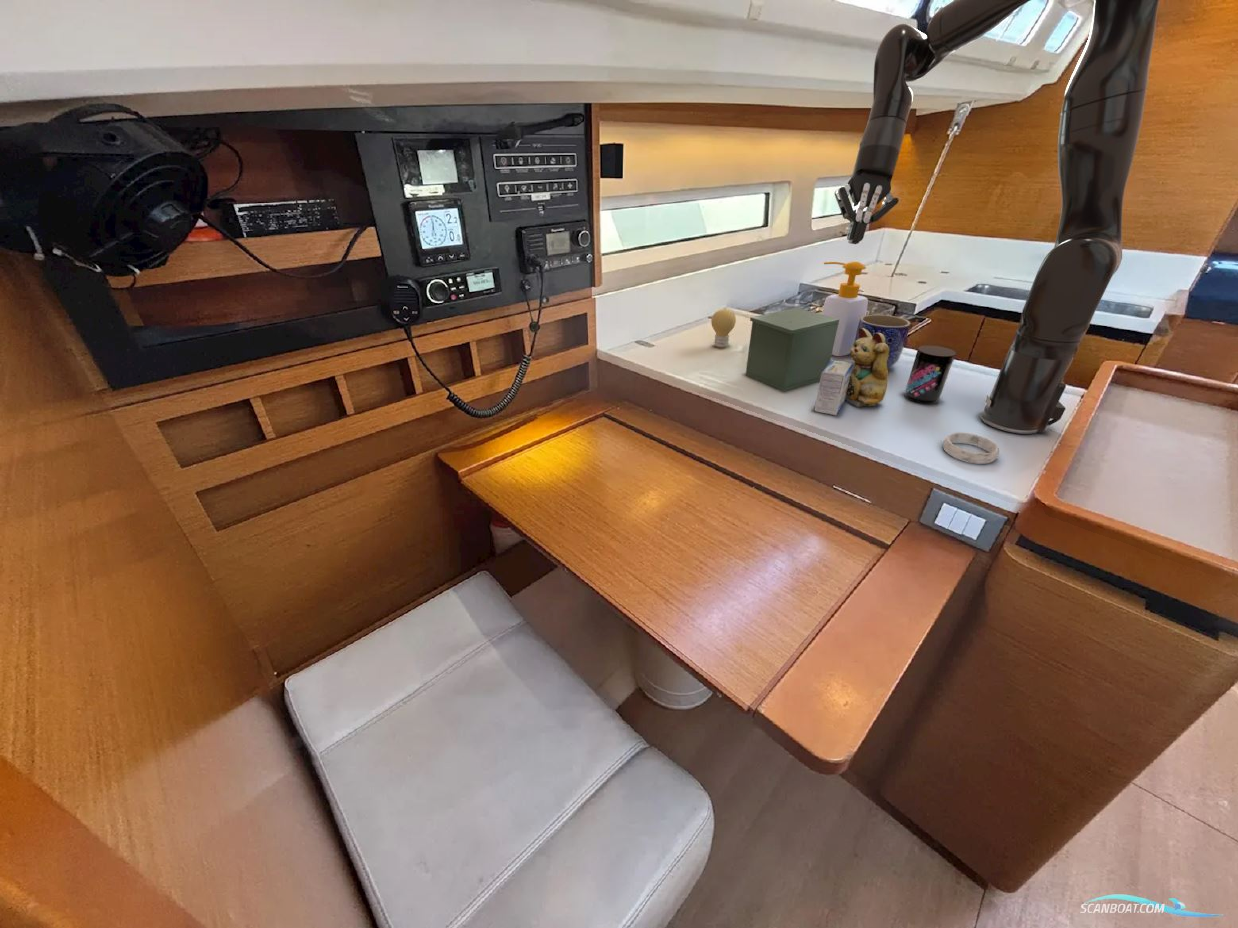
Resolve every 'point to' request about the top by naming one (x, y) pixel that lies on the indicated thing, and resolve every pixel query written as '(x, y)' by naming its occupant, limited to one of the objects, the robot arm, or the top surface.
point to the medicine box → (833, 387)
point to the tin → (789, 355)
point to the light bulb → (723, 326)
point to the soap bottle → (846, 308)
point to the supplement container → (929, 374)
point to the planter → (887, 333)
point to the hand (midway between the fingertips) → (853, 243)
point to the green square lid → (794, 320)
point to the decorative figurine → (868, 370)
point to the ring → (968, 455)
